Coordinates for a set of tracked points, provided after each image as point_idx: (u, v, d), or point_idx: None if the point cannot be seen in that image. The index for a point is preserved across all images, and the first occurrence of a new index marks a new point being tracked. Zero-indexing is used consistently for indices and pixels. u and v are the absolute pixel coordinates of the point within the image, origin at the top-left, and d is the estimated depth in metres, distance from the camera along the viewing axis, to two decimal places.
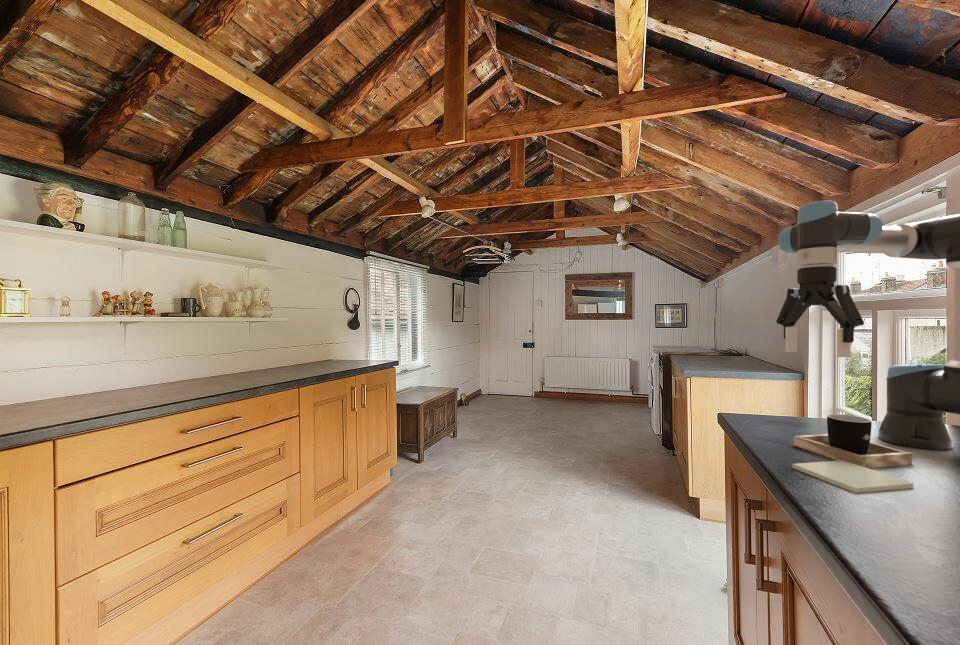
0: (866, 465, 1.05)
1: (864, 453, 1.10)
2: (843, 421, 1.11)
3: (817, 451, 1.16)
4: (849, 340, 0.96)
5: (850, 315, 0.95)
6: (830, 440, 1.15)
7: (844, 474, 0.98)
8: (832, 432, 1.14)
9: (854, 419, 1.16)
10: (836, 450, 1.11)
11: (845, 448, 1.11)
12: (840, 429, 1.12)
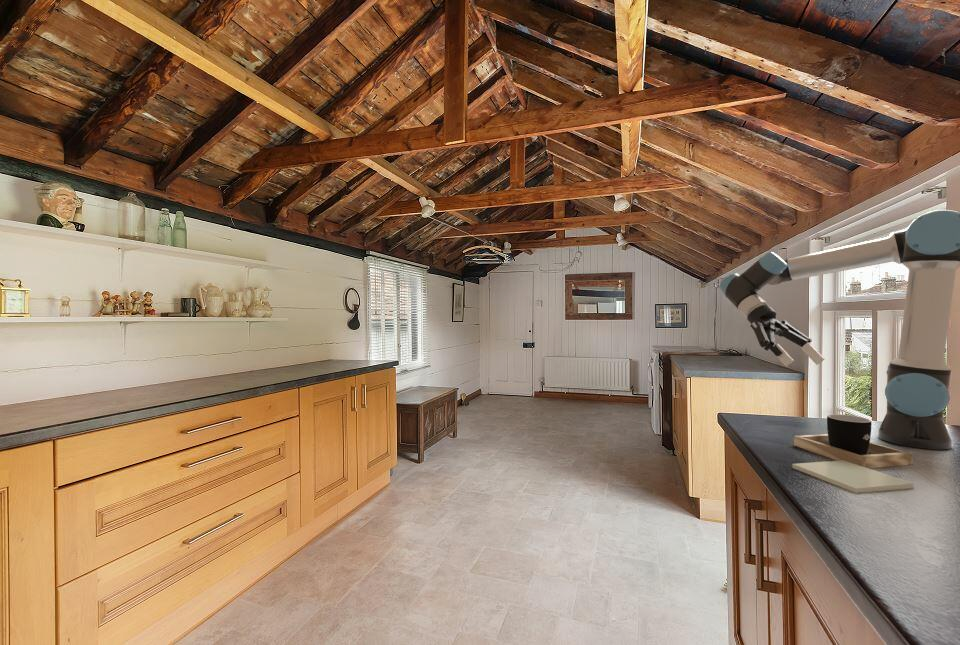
0: (866, 465, 1.05)
1: (864, 453, 1.10)
2: (843, 421, 1.11)
3: (817, 451, 1.16)
4: (776, 354, 1.25)
5: None
6: (830, 440, 1.15)
7: (844, 474, 0.98)
8: (832, 432, 1.14)
9: (854, 419, 1.16)
10: (836, 450, 1.11)
11: (845, 448, 1.11)
12: (840, 430, 1.12)
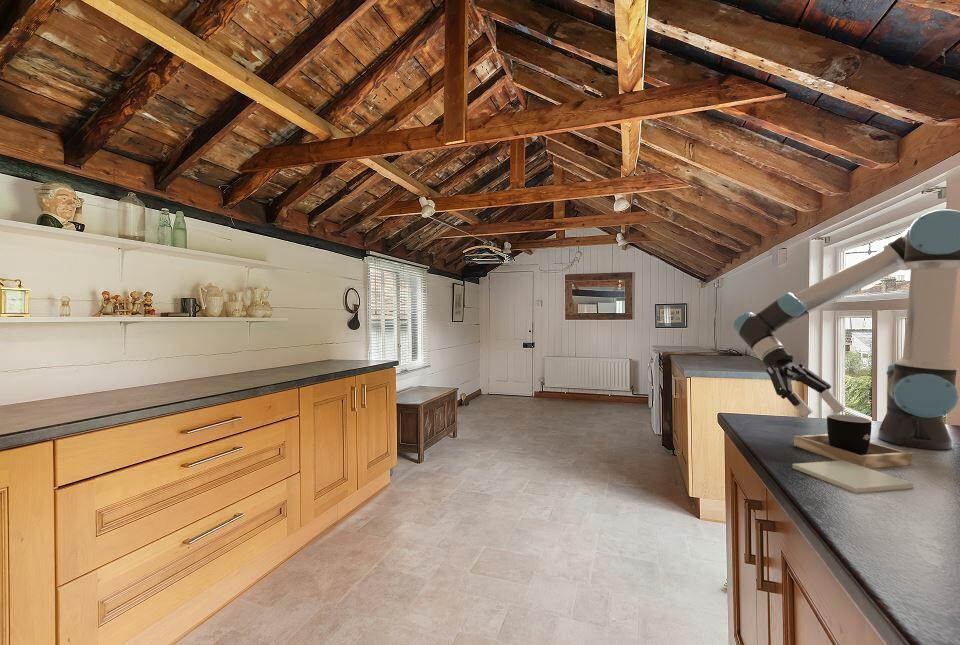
0: (866, 465, 1.05)
1: (864, 453, 1.10)
2: (843, 421, 1.11)
3: (817, 451, 1.16)
4: (793, 403, 1.20)
5: None
6: (830, 440, 1.15)
7: (844, 474, 0.98)
8: (832, 432, 1.14)
9: (854, 419, 1.16)
10: (836, 450, 1.11)
11: (845, 448, 1.11)
12: (840, 429, 1.12)
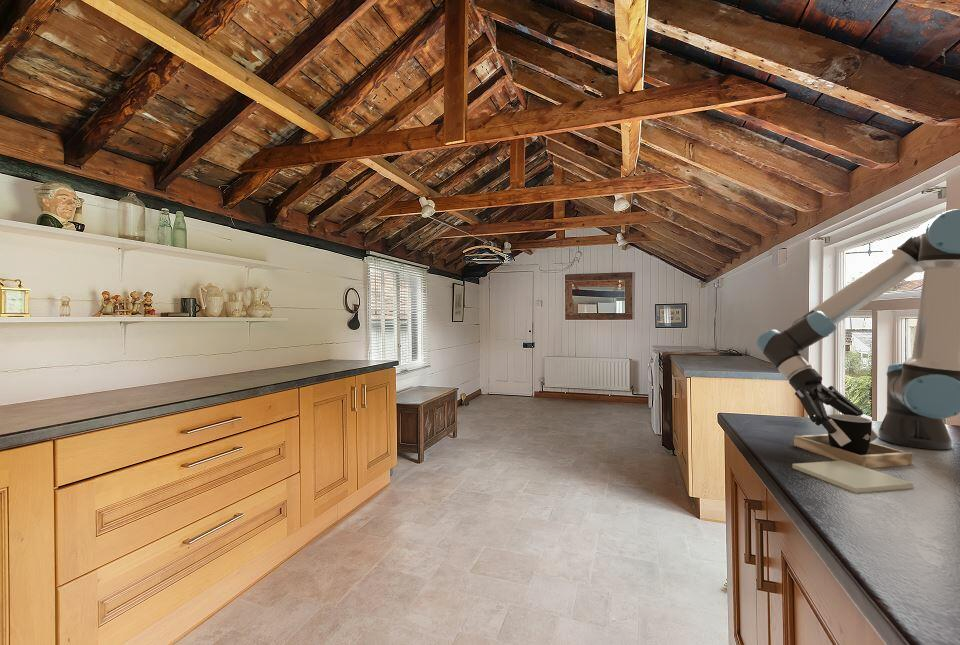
0: (866, 465, 1.05)
1: (864, 453, 1.10)
2: (843, 421, 1.11)
3: (817, 451, 1.16)
4: (829, 431, 1.13)
5: None
6: (830, 440, 1.15)
7: (844, 474, 0.98)
8: None
9: (854, 419, 1.16)
10: (836, 450, 1.11)
11: (845, 448, 1.11)
12: None
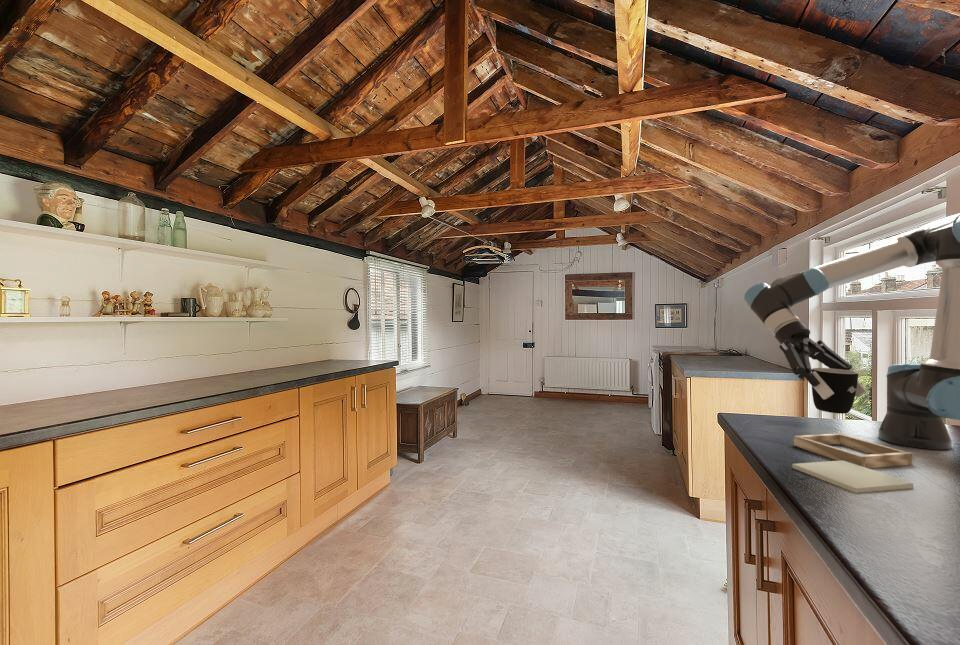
0: (866, 465, 1.05)
1: (848, 407, 1.04)
2: (827, 373, 1.05)
3: (817, 451, 1.16)
4: (812, 384, 1.06)
5: None
6: (813, 394, 1.09)
7: (844, 474, 0.98)
8: None
9: (841, 373, 1.09)
10: (836, 450, 1.11)
11: (828, 401, 1.05)
12: None
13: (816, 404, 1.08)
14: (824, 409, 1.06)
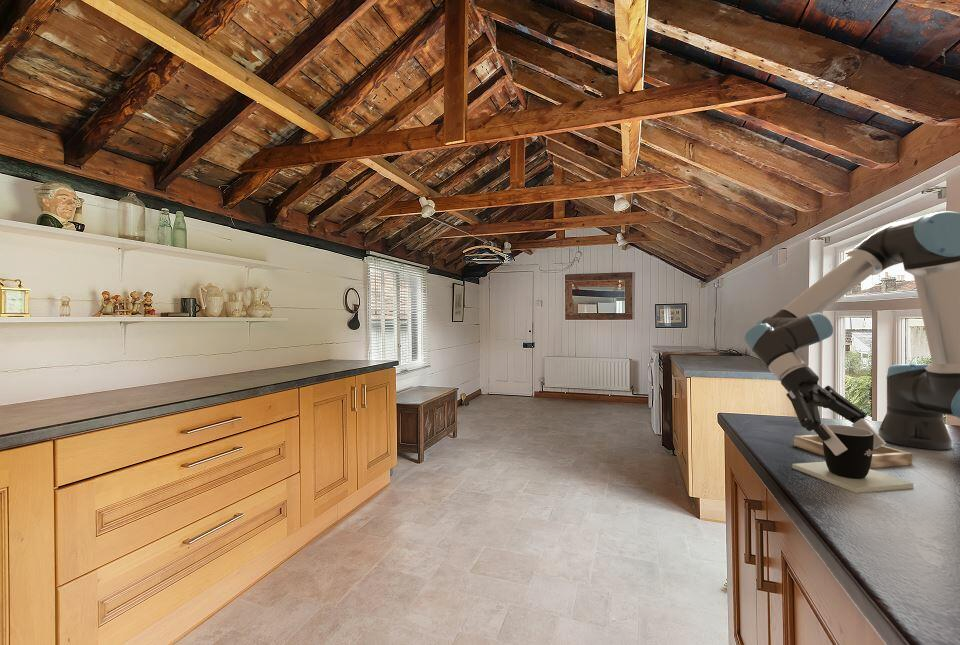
0: None
1: (866, 471, 0.95)
2: (841, 434, 0.95)
3: (817, 451, 1.16)
4: (822, 438, 0.96)
5: None
6: (826, 456, 0.99)
7: None
8: (828, 447, 0.98)
9: (853, 430, 1.00)
10: None
11: (844, 466, 0.95)
12: None
13: (830, 467, 0.98)
14: (840, 474, 0.96)
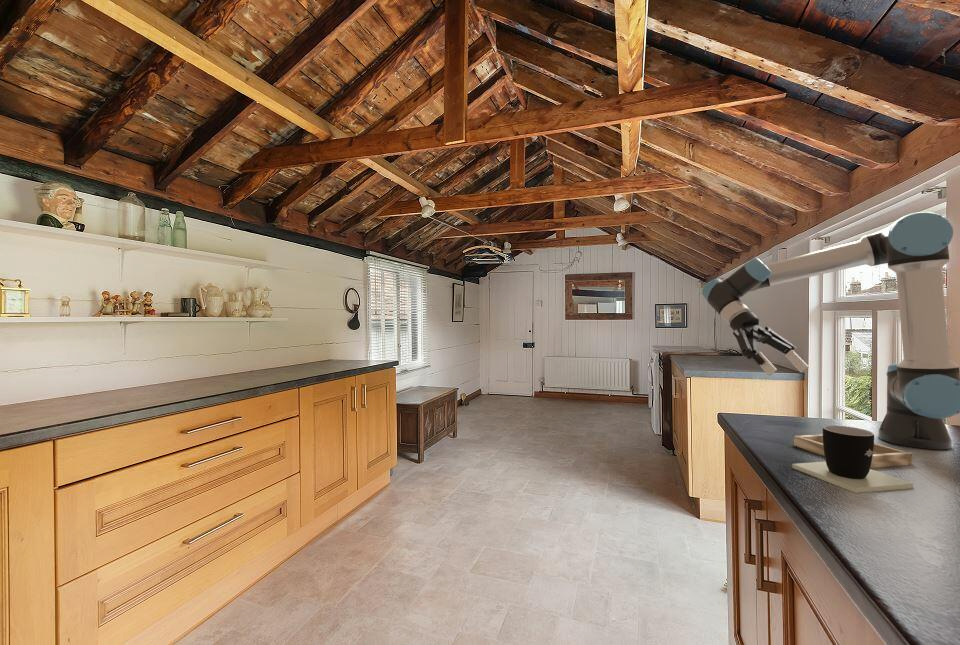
0: None
1: (866, 472, 0.95)
2: (842, 434, 0.95)
3: (817, 451, 1.16)
4: (758, 363, 1.21)
5: None
6: (826, 456, 0.99)
7: None
8: (829, 447, 0.98)
9: (853, 431, 1.00)
10: None
11: (844, 466, 0.95)
12: (838, 444, 0.96)
13: (830, 467, 0.98)
14: (840, 474, 0.96)
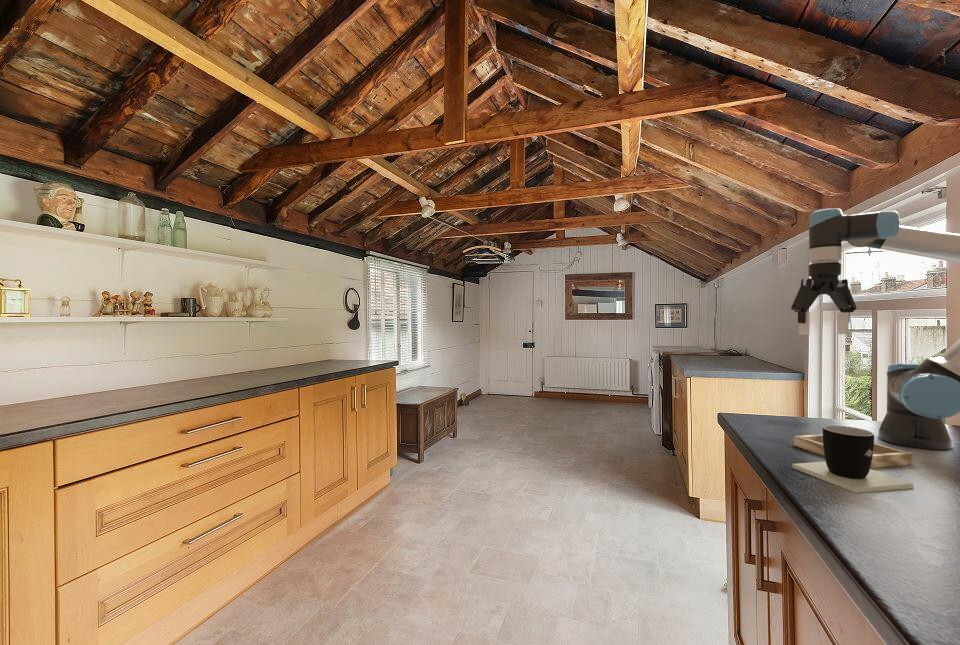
0: None
1: (866, 472, 0.95)
2: (842, 434, 0.95)
3: (817, 451, 1.16)
4: (798, 321, 1.26)
5: None
6: (826, 456, 0.99)
7: None
8: (829, 447, 0.98)
9: (853, 431, 1.00)
10: None
11: (844, 466, 0.95)
12: (838, 444, 0.96)
13: (830, 467, 0.98)
14: (840, 474, 0.96)
